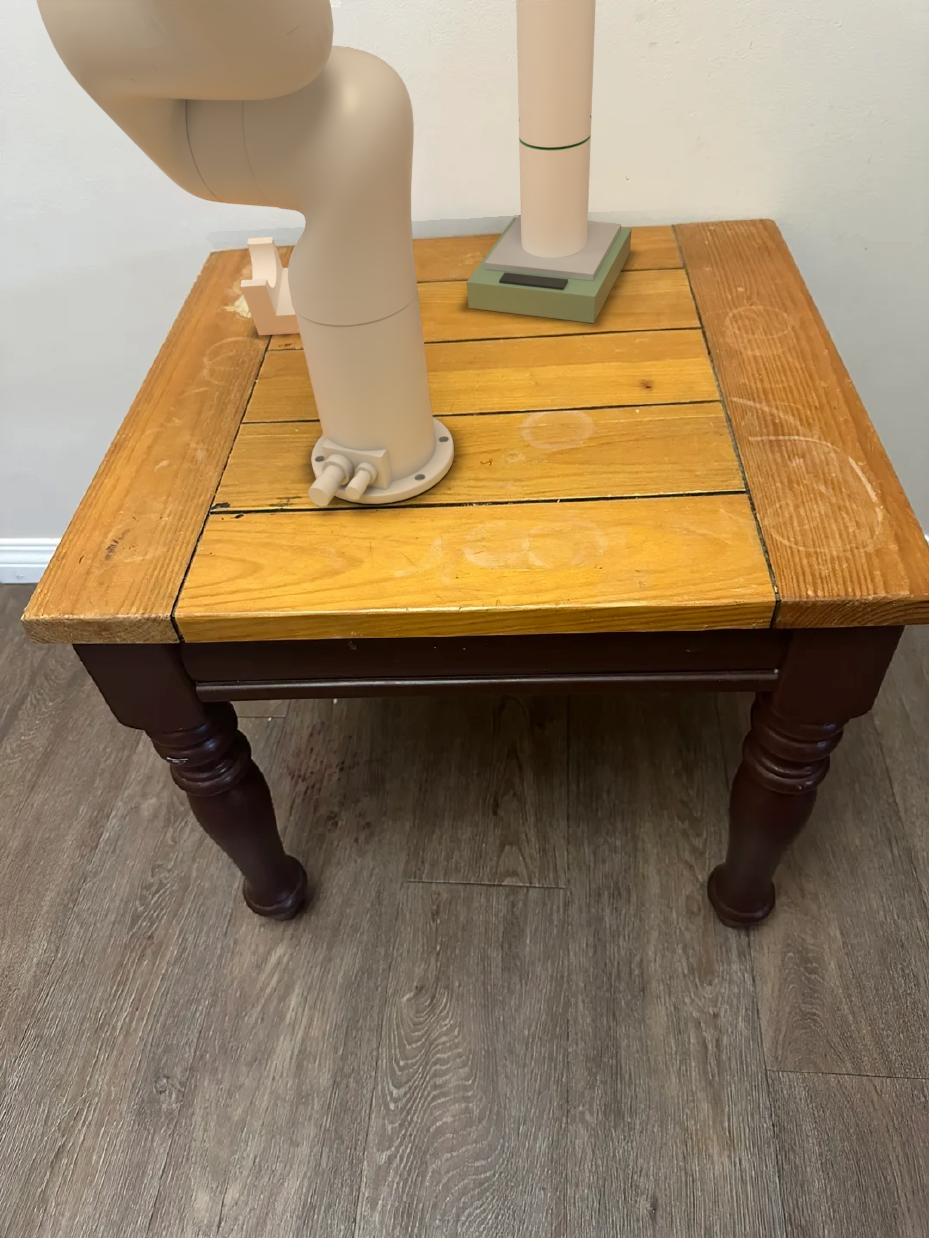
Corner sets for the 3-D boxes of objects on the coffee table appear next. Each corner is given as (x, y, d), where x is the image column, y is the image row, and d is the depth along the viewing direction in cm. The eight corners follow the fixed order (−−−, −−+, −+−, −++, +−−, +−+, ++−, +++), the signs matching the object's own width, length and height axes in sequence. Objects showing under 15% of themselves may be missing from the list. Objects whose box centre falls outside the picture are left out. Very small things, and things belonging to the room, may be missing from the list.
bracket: (261, 341, 94) (240, 286, 87) (268, 295, 97) (248, 238, 90) (379, 335, 93) (367, 279, 86) (382, 288, 96) (371, 230, 90)
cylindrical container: (587, 227, 96) (596, -51, 78) (586, 257, 92) (597, -31, 73) (523, 229, 97) (517, -46, 79) (519, 258, 93) (513, -26, 74)
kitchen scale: (594, 323, 90) (595, 289, 87) (468, 308, 94) (466, 274, 91) (629, 254, 100) (632, 220, 97) (514, 242, 104) (513, 210, 101)
